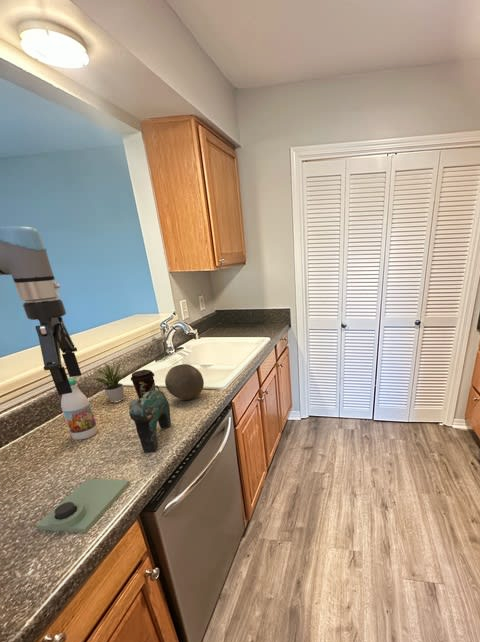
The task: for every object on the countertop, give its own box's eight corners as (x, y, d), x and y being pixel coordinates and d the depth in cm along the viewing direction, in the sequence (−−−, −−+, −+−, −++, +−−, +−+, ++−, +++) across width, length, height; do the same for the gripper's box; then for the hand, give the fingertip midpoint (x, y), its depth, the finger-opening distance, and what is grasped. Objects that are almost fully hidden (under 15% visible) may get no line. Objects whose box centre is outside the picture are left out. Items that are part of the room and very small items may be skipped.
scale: (83, 535, 70) (79, 525, 68) (34, 532, 71) (29, 522, 70) (130, 483, 85) (127, 474, 84) (88, 482, 86) (85, 472, 85)
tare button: (67, 520, 70) (65, 514, 70) (53, 519, 71) (50, 513, 70) (80, 508, 74) (77, 502, 73) (65, 507, 74) (63, 501, 74)
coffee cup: (156, 395, 138) (149, 367, 133) (163, 401, 132) (156, 371, 127) (135, 402, 133) (127, 372, 128) (140, 408, 127) (132, 377, 122)
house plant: (119, 390, 145) (109, 356, 139) (144, 393, 141) (134, 357, 135) (91, 404, 133) (79, 367, 127) (117, 407, 129) (106, 369, 122)
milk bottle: (66, 438, 108) (46, 383, 100) (86, 427, 115) (68, 375, 107) (84, 441, 106) (64, 385, 98) (103, 429, 113) (86, 376, 105)
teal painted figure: (156, 455, 97) (141, 394, 89) (134, 456, 96) (117, 395, 89) (176, 422, 115) (165, 369, 107) (158, 423, 115) (145, 371, 107)
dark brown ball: (178, 393, 140) (171, 360, 134) (210, 392, 139) (204, 359, 133) (164, 408, 127) (156, 372, 121) (199, 407, 126) (193, 371, 120)
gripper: (47, 305, 66) (79, 398, 74) (70, 293, 87) (93, 367, 95) (2, 309, 63) (40, 406, 71) (37, 296, 85) (64, 372, 93)
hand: (71, 384), depth 83 cm, fingers open, 13 cm apart
